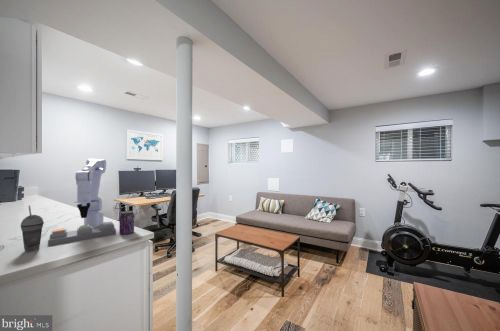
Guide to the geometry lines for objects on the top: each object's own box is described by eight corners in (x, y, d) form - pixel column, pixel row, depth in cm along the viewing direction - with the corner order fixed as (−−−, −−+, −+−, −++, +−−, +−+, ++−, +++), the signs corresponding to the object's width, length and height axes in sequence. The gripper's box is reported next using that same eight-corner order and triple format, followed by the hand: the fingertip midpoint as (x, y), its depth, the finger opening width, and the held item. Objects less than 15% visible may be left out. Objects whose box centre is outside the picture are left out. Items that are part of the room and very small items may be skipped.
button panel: (113, 229, 122) (113, 221, 122) (115, 233, 114) (115, 225, 114) (50, 239, 105) (50, 230, 105) (48, 245, 96) (48, 236, 96)
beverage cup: (36, 252, 89) (36, 206, 89) (15, 254, 87) (15, 207, 87) (47, 245, 96) (48, 203, 96) (28, 247, 94) (28, 204, 94)
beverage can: (127, 235, 111) (127, 213, 111) (116, 234, 112) (116, 212, 112) (136, 231, 118) (137, 210, 118) (126, 230, 119) (126, 210, 119)
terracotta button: (64, 231, 106) (64, 228, 106) (64, 233, 102) (64, 229, 102) (53, 233, 103) (53, 229, 103) (52, 235, 100) (52, 231, 100)
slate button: (111, 224, 119) (111, 221, 119) (112, 226, 115) (112, 223, 115) (102, 226, 116) (102, 222, 116) (102, 227, 113) (103, 224, 113)
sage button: (89, 228, 112) (89, 224, 112) (89, 230, 109) (89, 226, 109) (79, 229, 109) (79, 225, 109) (79, 231, 106) (79, 227, 106)
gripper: (74, 191, 116) (74, 215, 116) (74, 194, 105) (74, 221, 105) (90, 190, 120) (90, 213, 120) (91, 193, 109) (91, 218, 109)
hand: (83, 217), depth 113 cm, fingers open, 3 cm apart
